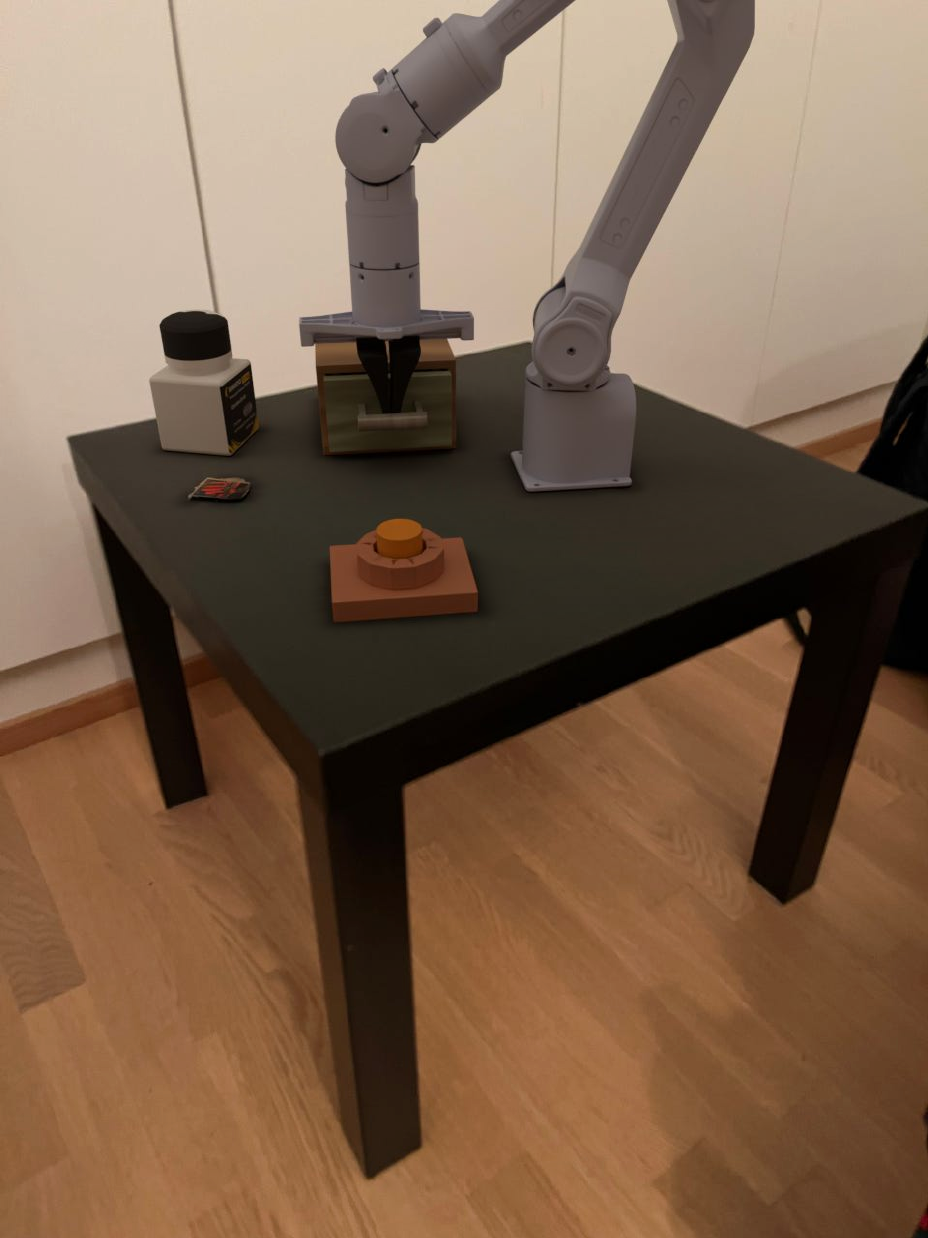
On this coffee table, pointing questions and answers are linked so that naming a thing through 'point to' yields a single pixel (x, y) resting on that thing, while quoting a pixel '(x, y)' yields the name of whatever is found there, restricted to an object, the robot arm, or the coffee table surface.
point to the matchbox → (222, 488)
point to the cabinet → (347, 361)
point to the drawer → (365, 426)
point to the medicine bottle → (202, 387)
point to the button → (399, 539)
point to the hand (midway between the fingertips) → (391, 421)
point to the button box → (401, 580)
